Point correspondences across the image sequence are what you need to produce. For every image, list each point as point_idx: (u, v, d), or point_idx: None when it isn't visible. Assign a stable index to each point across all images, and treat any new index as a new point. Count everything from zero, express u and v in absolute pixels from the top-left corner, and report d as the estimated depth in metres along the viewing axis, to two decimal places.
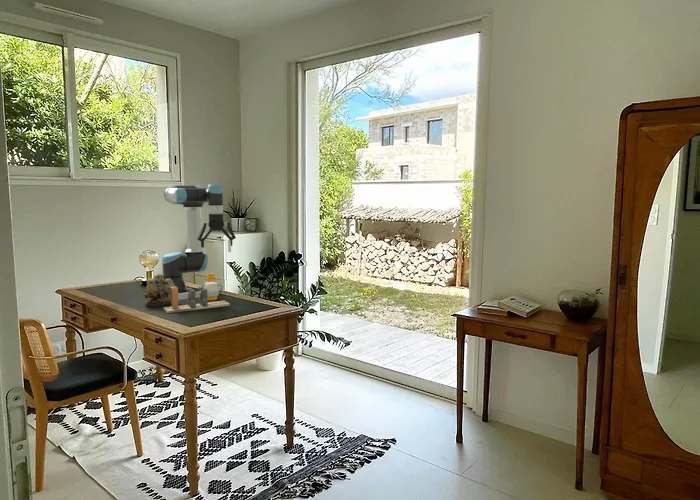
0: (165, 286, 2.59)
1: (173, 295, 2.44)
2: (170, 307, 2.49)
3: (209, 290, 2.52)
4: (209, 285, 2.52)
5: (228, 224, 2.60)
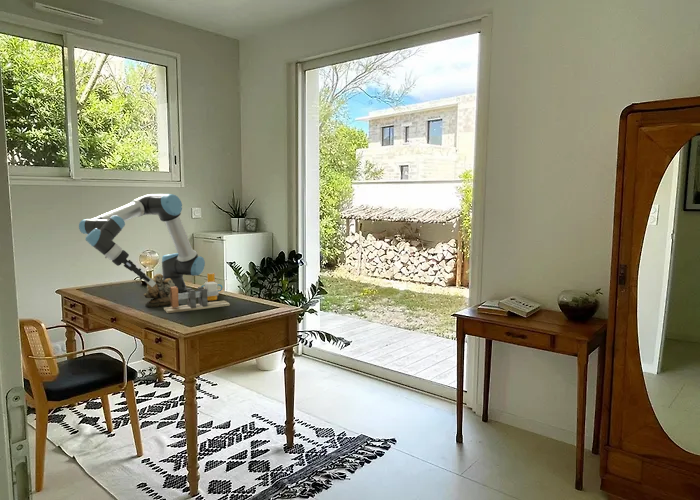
0: (165, 286, 2.59)
1: (173, 295, 2.44)
2: (170, 307, 2.49)
3: (209, 290, 2.52)
4: (209, 285, 2.52)
5: (127, 266, 2.27)
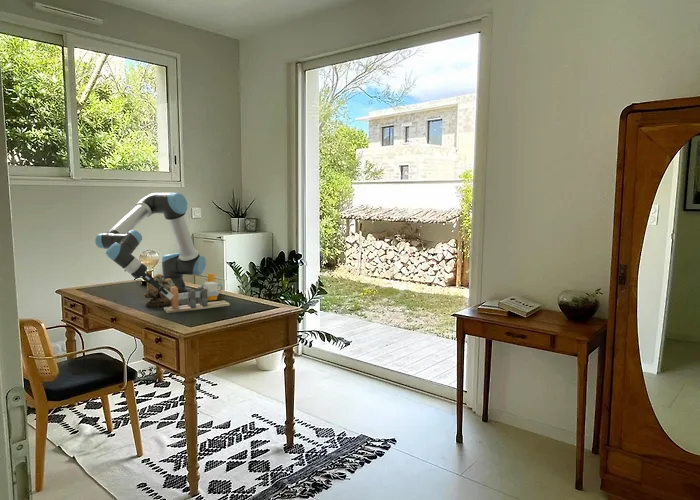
0: (165, 286, 2.59)
1: None
2: (170, 307, 2.49)
3: (209, 290, 2.52)
4: (209, 285, 2.52)
5: (146, 280, 2.32)
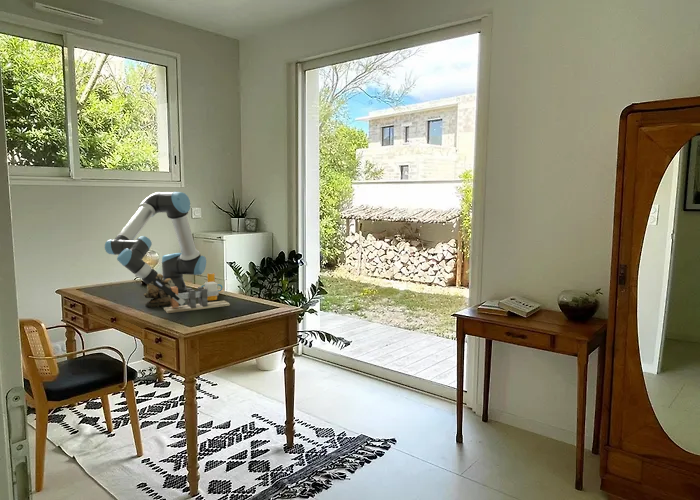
0: None
1: None
2: (170, 307, 2.49)
3: (209, 290, 2.52)
4: (209, 285, 2.52)
5: (158, 286, 2.37)
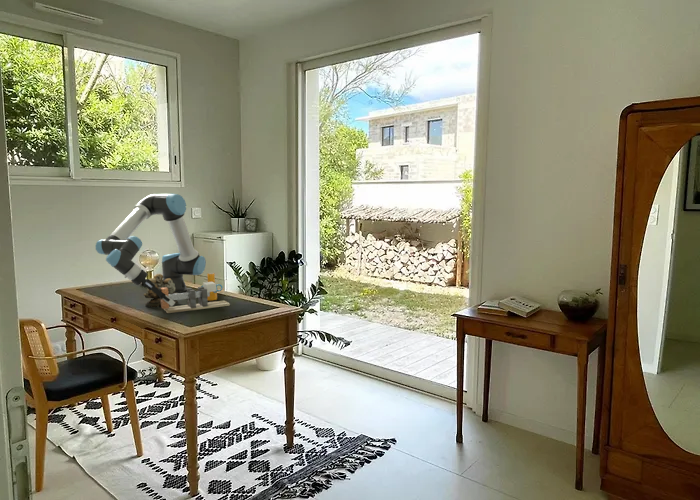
0: (165, 286, 2.59)
1: None
2: (170, 307, 2.49)
3: (207, 291, 2.52)
4: (208, 285, 2.52)
5: (148, 287, 2.34)
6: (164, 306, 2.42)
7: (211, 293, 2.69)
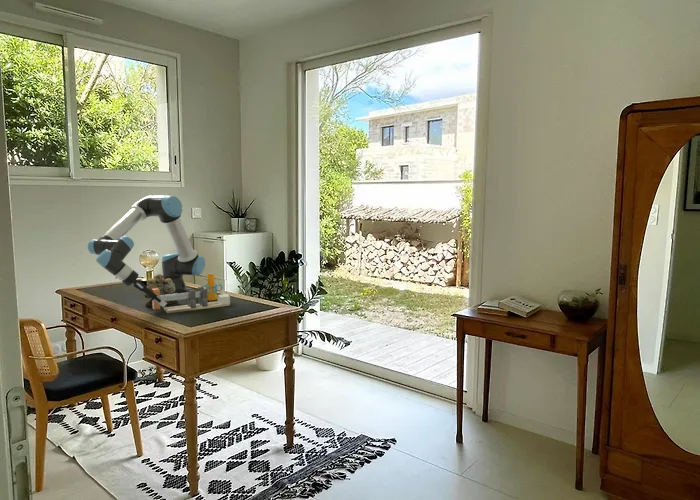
0: (165, 286, 2.59)
1: None
2: (170, 307, 2.49)
3: (229, 297, 2.57)
4: (228, 302, 2.58)
5: (139, 288, 2.32)
6: (155, 307, 2.40)
7: (211, 293, 2.69)
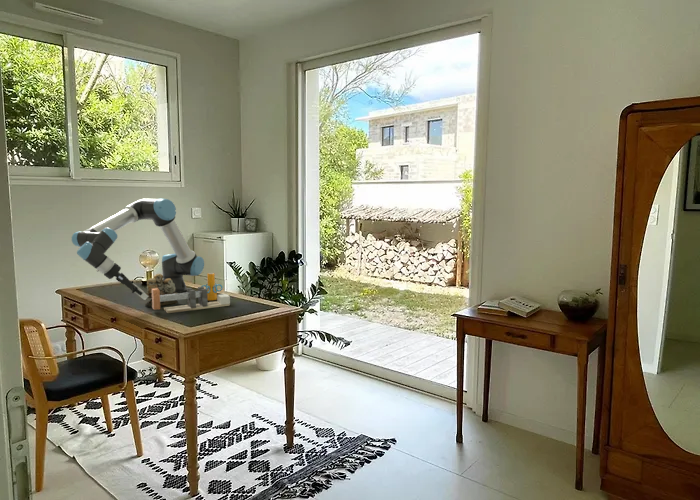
0: (165, 286, 2.59)
1: (154, 297, 2.39)
2: (170, 307, 2.49)
3: (229, 297, 2.57)
4: (228, 302, 2.58)
5: (119, 280, 2.26)
6: (155, 307, 2.40)
7: (211, 293, 2.69)
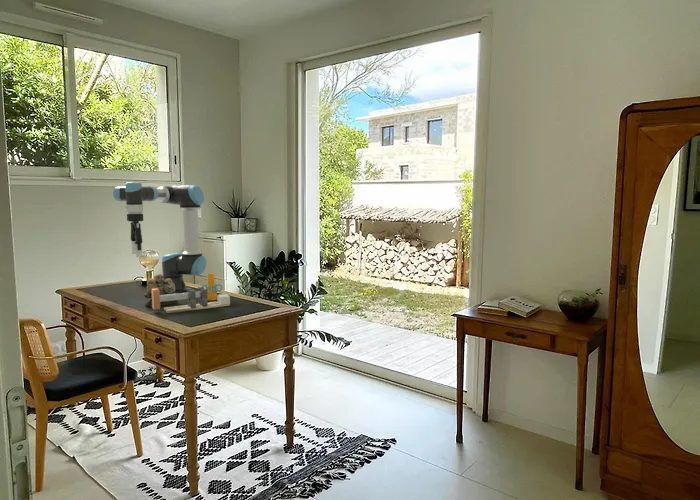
0: (165, 286, 2.59)
1: (154, 297, 2.39)
2: (170, 307, 2.49)
3: (229, 297, 2.57)
4: (228, 302, 2.58)
5: (134, 226, 2.35)
6: (155, 307, 2.40)
7: (211, 293, 2.69)
